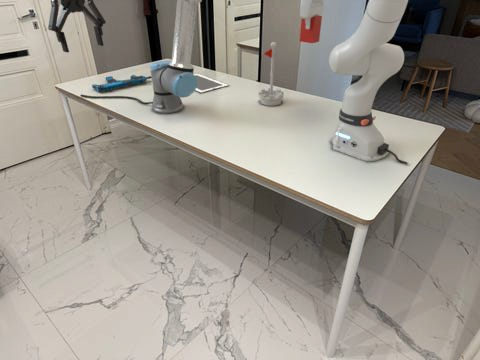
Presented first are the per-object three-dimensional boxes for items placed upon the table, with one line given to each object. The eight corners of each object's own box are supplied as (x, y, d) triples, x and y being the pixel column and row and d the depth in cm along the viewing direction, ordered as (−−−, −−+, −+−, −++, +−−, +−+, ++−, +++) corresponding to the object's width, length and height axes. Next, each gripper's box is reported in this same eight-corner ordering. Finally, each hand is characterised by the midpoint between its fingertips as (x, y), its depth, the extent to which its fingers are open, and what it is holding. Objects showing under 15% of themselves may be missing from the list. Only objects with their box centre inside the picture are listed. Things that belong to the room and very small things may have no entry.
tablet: (171, 80, 212) (171, 79, 212) (198, 74, 223) (197, 73, 223) (200, 93, 192) (200, 92, 192) (228, 85, 203) (228, 85, 203)
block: (306, 39, 157) (308, 14, 151) (319, 41, 153) (322, 15, 147) (299, 41, 154) (301, 15, 148) (312, 43, 150) (315, 16, 144)
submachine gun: (137, 69, 223) (155, 75, 206) (138, 75, 224) (156, 82, 208) (84, 79, 204) (100, 87, 187) (86, 86, 206) (101, 94, 189)
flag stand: (276, 96, 187) (279, 38, 170) (287, 104, 177) (292, 43, 160) (254, 99, 183) (255, 40, 167) (264, 107, 173) (267, 45, 156)
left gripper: (95, -21, 122) (108, 41, 134) (23, -18, 106) (44, 53, 117) (107, -21, 118) (119, 44, 130) (34, -17, 102) (55, 56, 114)
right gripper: (315, -10, 152) (311, 24, 159) (298, -7, 137) (295, 30, 144) (328, -9, 149) (324, 25, 157) (313, -7, 134) (309, 31, 141)
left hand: (84, 48), depth 124 cm, fingers open, 13 cm apart
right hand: (310, 27), depth 150 cm, fingers closed on block, 6 cm apart
